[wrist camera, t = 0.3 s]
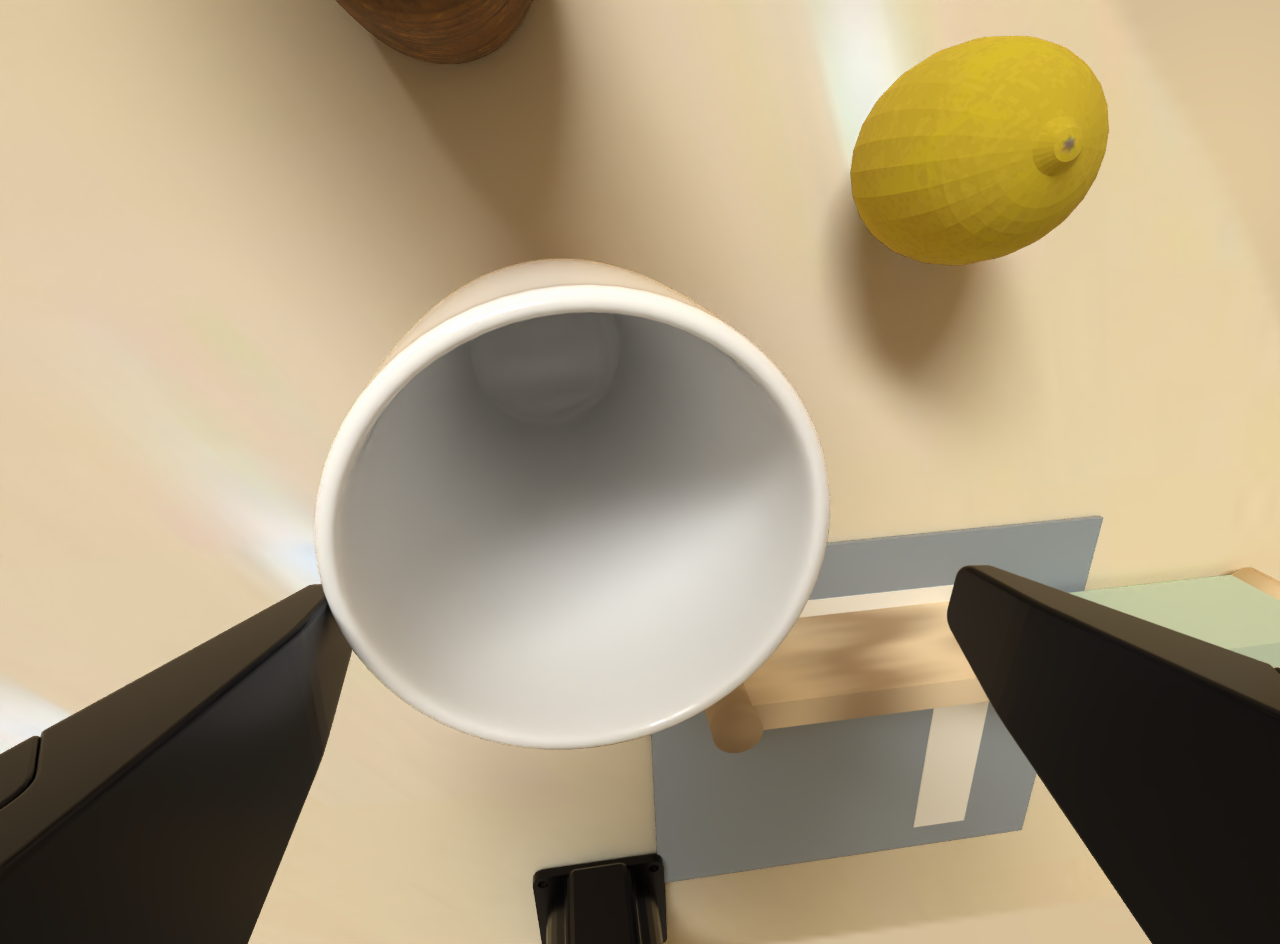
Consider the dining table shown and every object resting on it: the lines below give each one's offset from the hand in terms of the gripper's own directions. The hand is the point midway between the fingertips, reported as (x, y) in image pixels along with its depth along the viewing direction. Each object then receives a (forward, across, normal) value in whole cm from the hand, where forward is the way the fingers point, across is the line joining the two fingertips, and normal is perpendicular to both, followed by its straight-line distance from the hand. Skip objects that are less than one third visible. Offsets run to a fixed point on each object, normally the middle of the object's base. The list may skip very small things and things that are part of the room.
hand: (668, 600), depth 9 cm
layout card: (+14, -13, +16) cm, 25 cm away
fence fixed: (+15, -11, +11) cm, 21 cm away
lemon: (+15, -10, -7) cm, 19 cm away
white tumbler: (+14, +2, -1) cm, 15 cm away
